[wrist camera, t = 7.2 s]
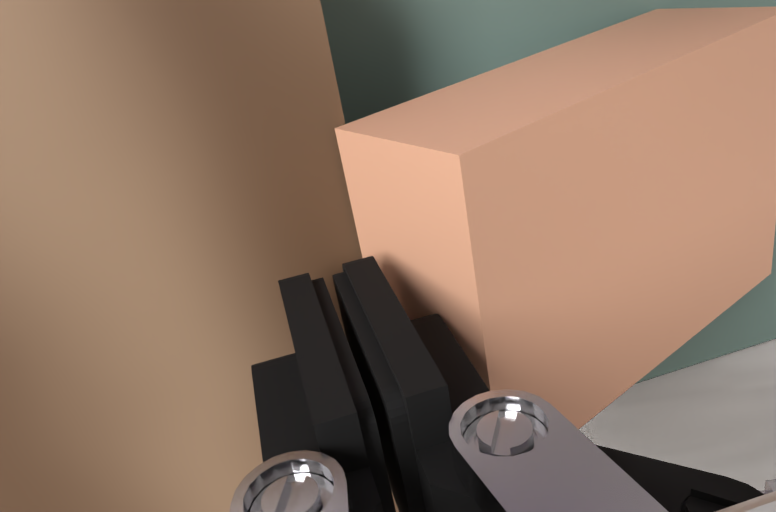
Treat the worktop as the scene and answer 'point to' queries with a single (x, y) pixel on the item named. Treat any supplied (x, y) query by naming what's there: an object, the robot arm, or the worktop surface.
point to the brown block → (155, 239)
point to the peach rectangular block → (580, 200)
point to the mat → (487, 52)
